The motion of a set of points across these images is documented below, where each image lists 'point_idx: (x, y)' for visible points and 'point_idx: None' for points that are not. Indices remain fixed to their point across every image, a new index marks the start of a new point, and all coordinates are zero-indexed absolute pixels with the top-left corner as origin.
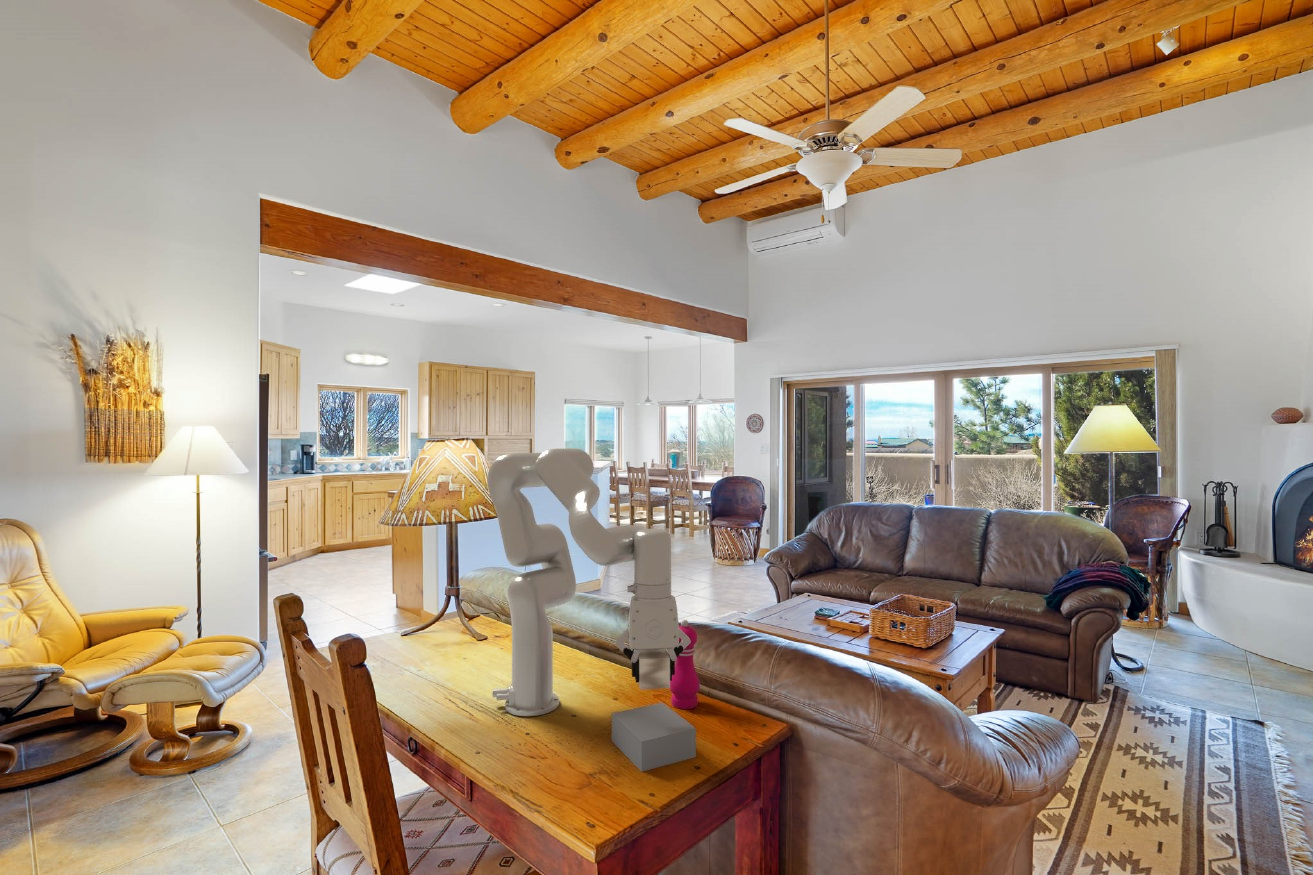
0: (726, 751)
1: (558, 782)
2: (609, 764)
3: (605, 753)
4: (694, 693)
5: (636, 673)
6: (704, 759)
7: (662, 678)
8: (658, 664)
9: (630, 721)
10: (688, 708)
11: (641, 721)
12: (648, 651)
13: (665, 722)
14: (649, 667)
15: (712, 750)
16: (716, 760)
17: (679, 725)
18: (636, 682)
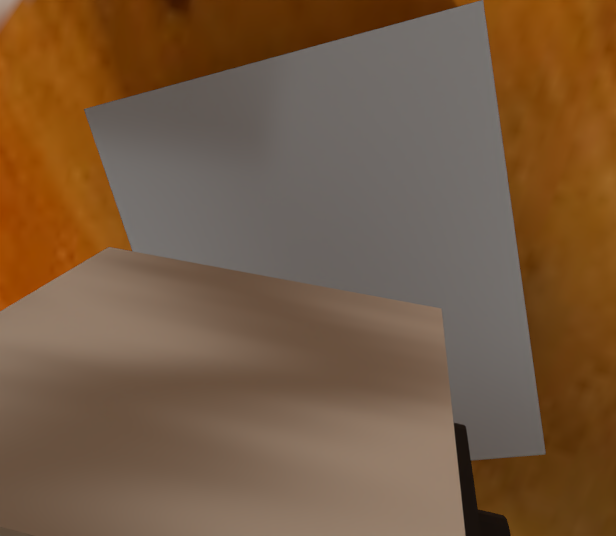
0: (15, 113)
1: None
2: (611, 140)
3: (591, 258)
4: None
5: (470, 496)
6: (126, 64)
7: (136, 307)
8: (81, 432)
9: (462, 317)
10: None
11: (393, 296)
12: None
13: (249, 238)
14: (271, 440)
15: (74, 140)
16: (73, 39)
17: (174, 174)
18: (456, 426)
